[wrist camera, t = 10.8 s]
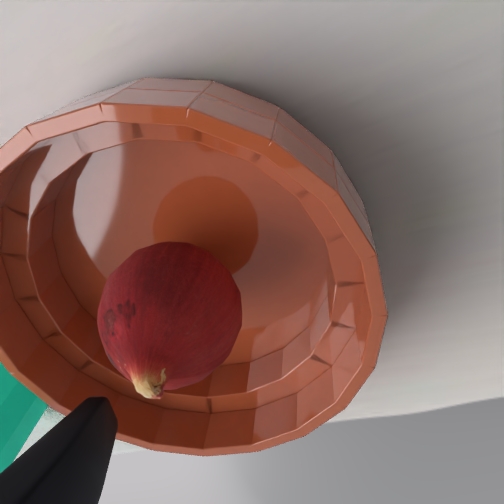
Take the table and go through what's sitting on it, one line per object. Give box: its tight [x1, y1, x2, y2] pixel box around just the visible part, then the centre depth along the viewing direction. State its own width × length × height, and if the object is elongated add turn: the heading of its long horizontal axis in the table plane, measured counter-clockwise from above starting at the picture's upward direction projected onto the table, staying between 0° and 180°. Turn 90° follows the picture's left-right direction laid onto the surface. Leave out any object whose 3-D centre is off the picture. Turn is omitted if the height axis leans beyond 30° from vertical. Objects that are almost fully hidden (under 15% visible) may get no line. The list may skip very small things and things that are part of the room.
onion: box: [97, 241, 242, 399], centre depth 18 cm, size 6×6×8 cm
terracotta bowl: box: [0, 78, 388, 456], centre depth 20 cm, size 17×17×5 cm
